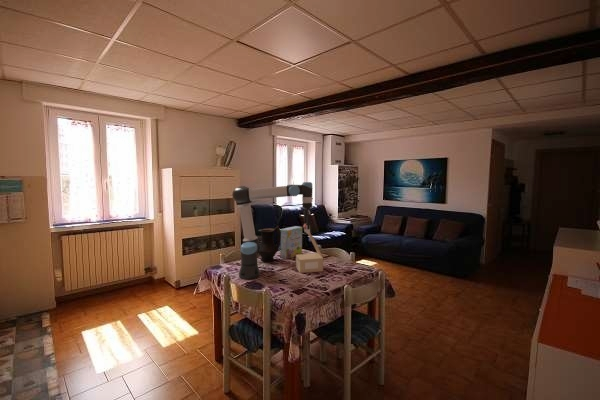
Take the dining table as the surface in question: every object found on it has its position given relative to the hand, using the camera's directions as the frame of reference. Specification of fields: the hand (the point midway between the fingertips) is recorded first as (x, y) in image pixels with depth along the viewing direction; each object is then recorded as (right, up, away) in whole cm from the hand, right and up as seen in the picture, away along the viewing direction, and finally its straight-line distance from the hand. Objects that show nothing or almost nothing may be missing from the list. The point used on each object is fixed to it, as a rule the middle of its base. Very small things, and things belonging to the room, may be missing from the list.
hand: (307, 232), depth 219 cm
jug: (-32, -27, +24) cm, 48 cm away
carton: (+2, -29, +3) cm, 29 cm away
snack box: (-13, -26, +38) cm, 48 cm away
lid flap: (+3, -7, +1) cm, 7 cm away
